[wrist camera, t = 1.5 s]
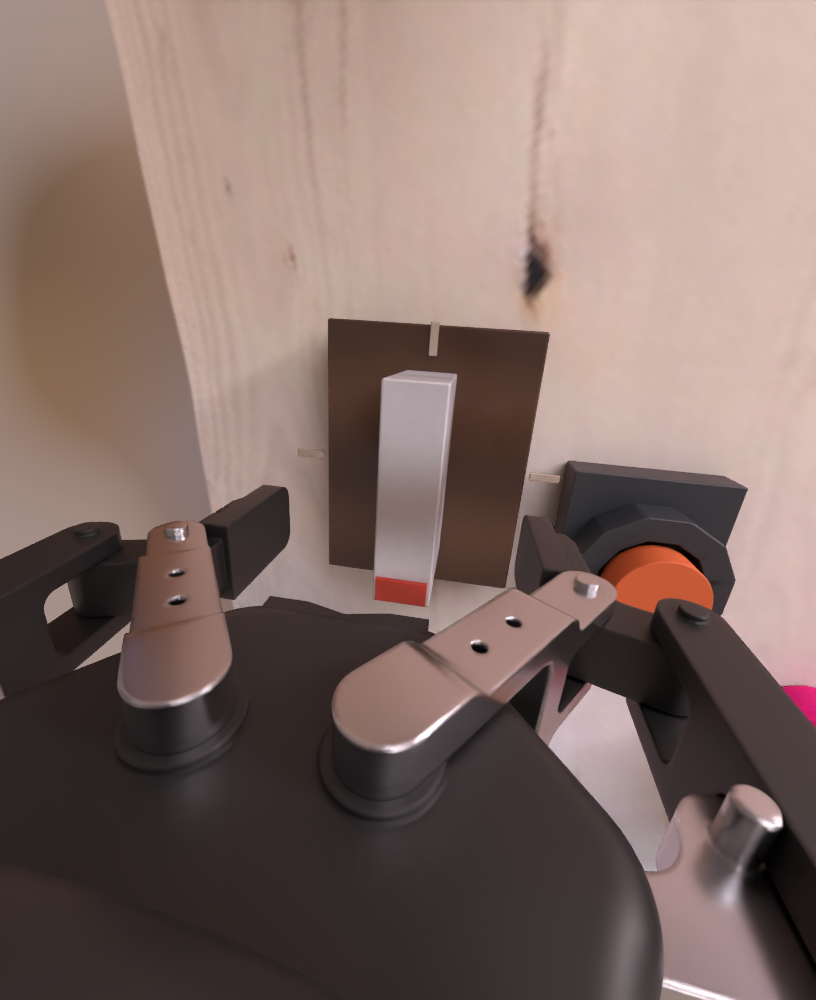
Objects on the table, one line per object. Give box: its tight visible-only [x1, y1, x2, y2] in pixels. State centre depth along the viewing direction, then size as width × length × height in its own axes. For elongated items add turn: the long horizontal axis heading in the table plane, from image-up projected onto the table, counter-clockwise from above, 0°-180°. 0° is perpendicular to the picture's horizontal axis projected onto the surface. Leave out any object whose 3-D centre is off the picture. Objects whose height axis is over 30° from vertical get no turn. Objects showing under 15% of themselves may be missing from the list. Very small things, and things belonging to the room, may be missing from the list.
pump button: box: [600, 545, 713, 613], centre depth 20 cm, size 4×4×2 cm
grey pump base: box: [554, 461, 748, 616], centre depth 22 cm, size 10×8×4 cm
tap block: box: [298, 318, 560, 588], centre depth 22 cm, size 13×13×3 cm
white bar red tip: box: [373, 370, 457, 607], centre depth 18 cm, size 9×2×6 cm, turn 176°
